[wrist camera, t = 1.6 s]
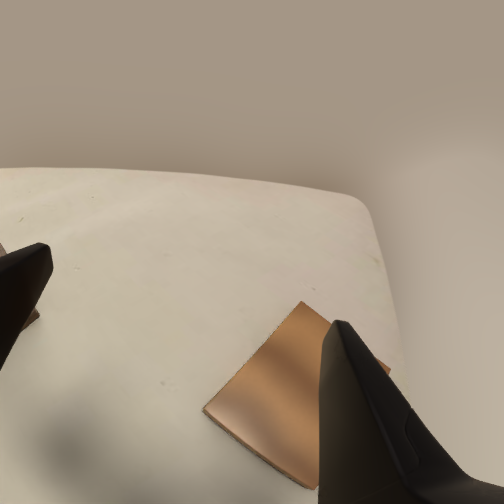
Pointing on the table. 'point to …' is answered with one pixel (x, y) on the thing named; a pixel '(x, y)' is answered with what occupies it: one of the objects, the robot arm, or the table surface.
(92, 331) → the table surface
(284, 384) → the trivet
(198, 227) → the table surface
